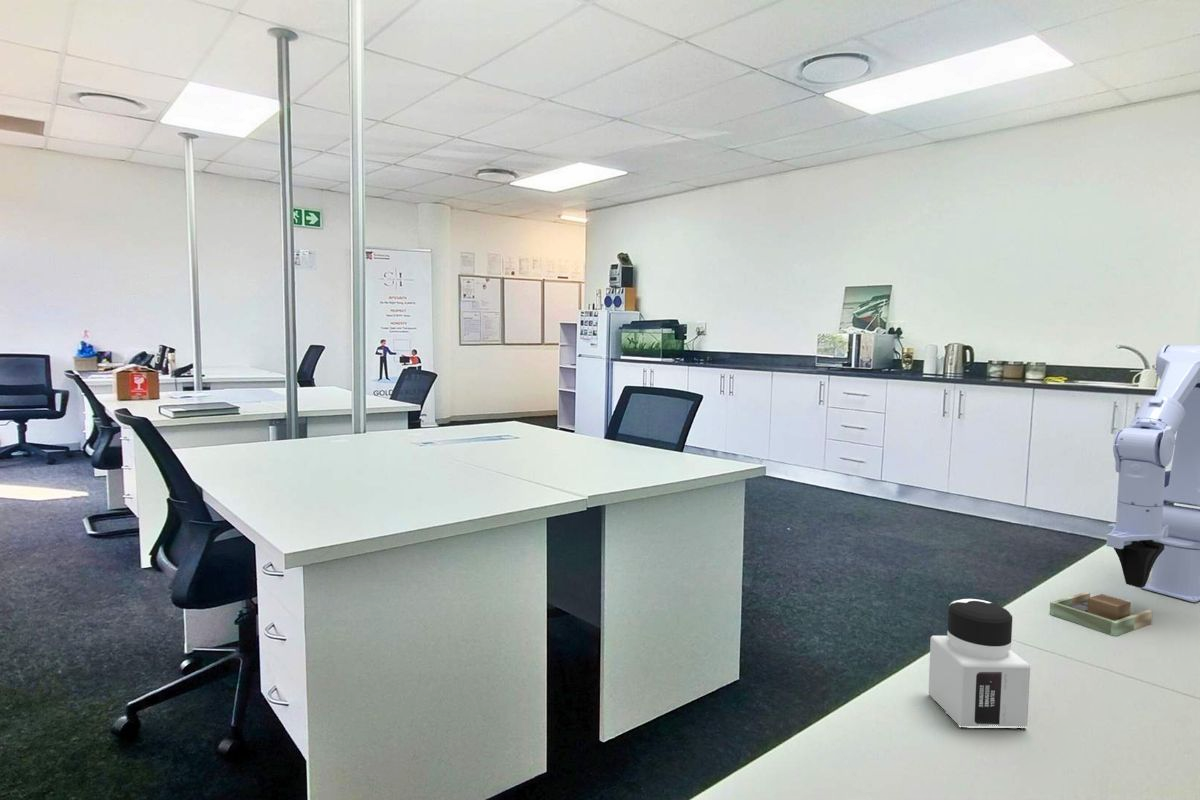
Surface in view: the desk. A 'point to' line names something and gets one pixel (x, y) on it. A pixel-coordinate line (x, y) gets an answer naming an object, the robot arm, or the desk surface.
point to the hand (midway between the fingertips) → (1135, 585)
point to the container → (979, 667)
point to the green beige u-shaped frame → (1096, 622)
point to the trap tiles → (1081, 606)
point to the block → (1108, 607)
